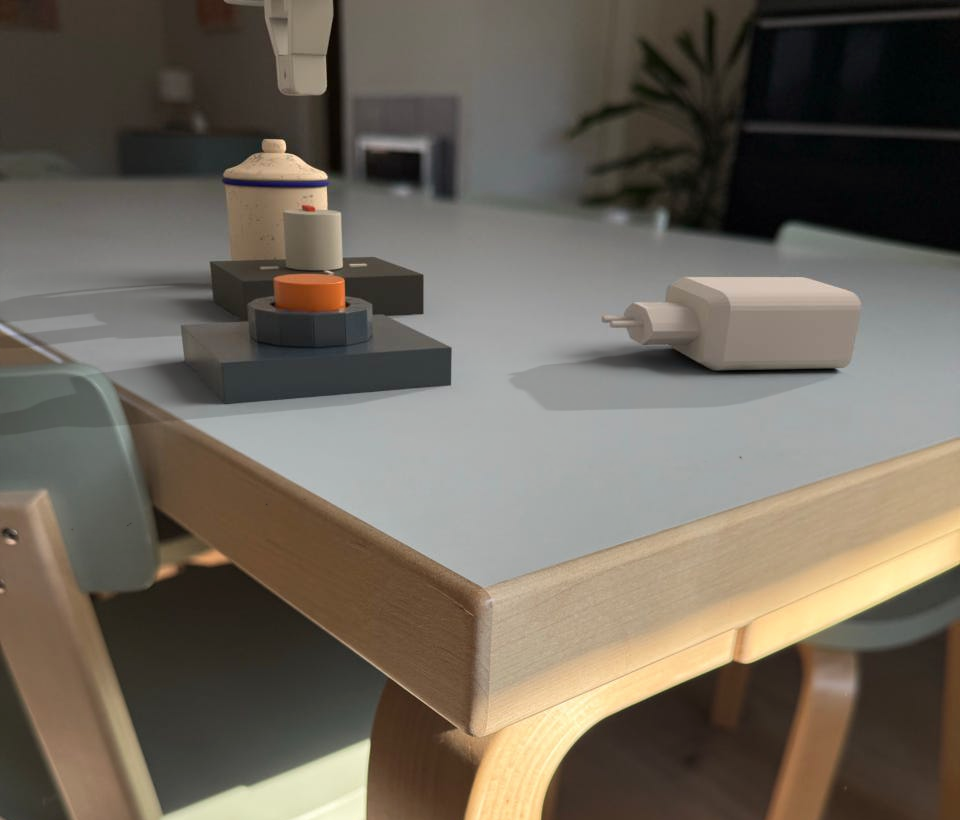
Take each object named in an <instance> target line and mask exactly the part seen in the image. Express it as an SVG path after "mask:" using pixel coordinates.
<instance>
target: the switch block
mask: <svg viewBox="0 0 960 820" xmlns="http://www.w3.org/2000/svg"><path fill="white" fill-rule="evenodd" d="M247 309H248V321H246V322H243V321H230V322H229V321H227V322H210V323H190V324H181V325H180V332H181V342H182V351H183V361H184V362H185V363H186V364H187V366H188V367H189V368H191V370H193V372H194V373H195V375H197V376H198V378H200V379H201V381H202V382H203V383H204V384H205V385H206V386H207V387H208V388H209V389H210V390H211V391H212V392H213V393H214V394H215V396H216V397H217V398H219V400H220V401H221V402H222V403H223V404H224V405H236V404H245V403H258V402H259V403H260V402H271V401H279V400H280V401H284V400H294V399H307V398H319V397H329V396H341V395H352V394H354V395H355V394H365V393H378V392H388V391H390V392H391V391H400V390H401V391H402V390H412V389H424V388H435V387H447V386H449V387H450V386H452V358H453V357H452V353H453V351H452V349H453V347H452V346H450V345H447V344H445V343H443V342H441V341H439V340H437V339H436V338H433V337H431V336H429V335H427V334H425V333H422V332H420V331H418V330H416V329H414V328H412V327H410V326H408V325H406V324H403V323H402V322H399V321H397V320H395V319H394V318H391V317H390V316H385V315H383V314H381V315H372V304H371V303H369V302H367V301H365V300H363V299H360V298H353V297H347V296H345V308H340V309H334V310H318V311H304V310H288V309H281V308H275V296H270V297H264V298H258V299H255V300H254V301H252V302H250V303H248V304H247Z"/></svg>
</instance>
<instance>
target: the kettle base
mask: <svg viewBox="0 0 960 820" xmlns="http://www.w3.org/2000/svg"><path fill="white" fill-rule="evenodd" d="M342 258H343V267H342V268H340V269H336V270H326V271H307V270H296V269H290V268H288V267H286V259H277V260H241V261H232V260H211V261H209V268H210V278H211V279H210V280H211V288H212V290H211V291H212V299H213V301H214V302H216V304H219V305H220V306H221V307H222V308H224V309H225V310H227V311H228V312H229V313H231V314H232V315H234V316H235V317H236V318H237V319H239V320H241V322H246V321H248V309H247V304H248V303H250V302H252V301H254V300H255V299H258V298H264V297H270V296H274V281H273V280H274V278H275V277H278V276H282V275H290V274H324V275H333V276H338V277H342V278H344V280H345V296H347V297H353V298H360V299H363V300H365V301H367V302H369V303H371V304H372V315H381V314H383V315H385V316H387V317H397V316H414V315H416V316H417V315H424V309H425V307H424V306H425V305H424V300H425V299H424V295H425V294H424V292H425V291H424V290H425V289H424V287H425V286H424V285H425V284H424V283H425V282H424V281H425V280H424V277H425V275H424V274H423V273H421V272H418V271H415V270H412V269H409V268H406V267H404V266H401V265H398V264H395V263H392V262H389V261H387V260H384V259H381V258H378V257H376V256H357V257H355V256H354V257H353V256H352V257H342Z"/></svg>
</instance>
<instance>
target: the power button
mask: <svg viewBox="0 0 960 820" xmlns="http://www.w3.org/2000/svg"><path fill="white" fill-rule="evenodd" d="M273 281H274V296H275V308H281V309H288V310H304V311H318V310H334V309H340V308H345V280H344V278H342V277H338V276H333V275H324V274H290V275H282V276H278V277H275V278H274V280H273Z"/></svg>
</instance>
